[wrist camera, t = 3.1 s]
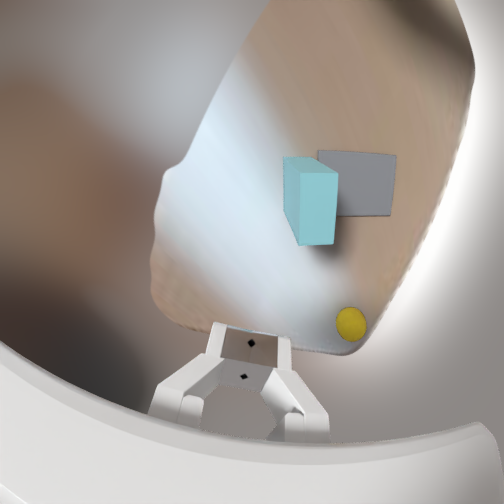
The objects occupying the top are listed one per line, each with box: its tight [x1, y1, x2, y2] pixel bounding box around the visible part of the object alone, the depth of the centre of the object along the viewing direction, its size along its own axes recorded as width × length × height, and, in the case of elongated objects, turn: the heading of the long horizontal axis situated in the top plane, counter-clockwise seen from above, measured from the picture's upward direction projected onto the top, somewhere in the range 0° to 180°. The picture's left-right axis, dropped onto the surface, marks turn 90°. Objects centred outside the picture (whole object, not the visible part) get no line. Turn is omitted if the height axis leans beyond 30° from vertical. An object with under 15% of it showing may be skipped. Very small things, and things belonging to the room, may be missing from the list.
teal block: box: [283, 157, 338, 246], centre depth 33 cm, size 4×8×12 cm, turn 2°
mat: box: [318, 150, 396, 216], centre depth 38 cm, size 13×10×1 cm
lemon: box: [336, 307, 367, 342], centre depth 46 cm, size 6×6×8 cm
